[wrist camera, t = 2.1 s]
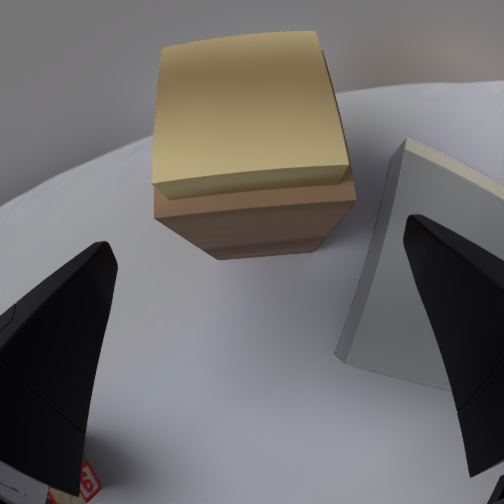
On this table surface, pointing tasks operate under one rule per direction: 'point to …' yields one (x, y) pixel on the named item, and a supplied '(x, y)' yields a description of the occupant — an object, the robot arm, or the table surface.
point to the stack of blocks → (88, 488)
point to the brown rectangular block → (249, 145)
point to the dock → (398, 268)
